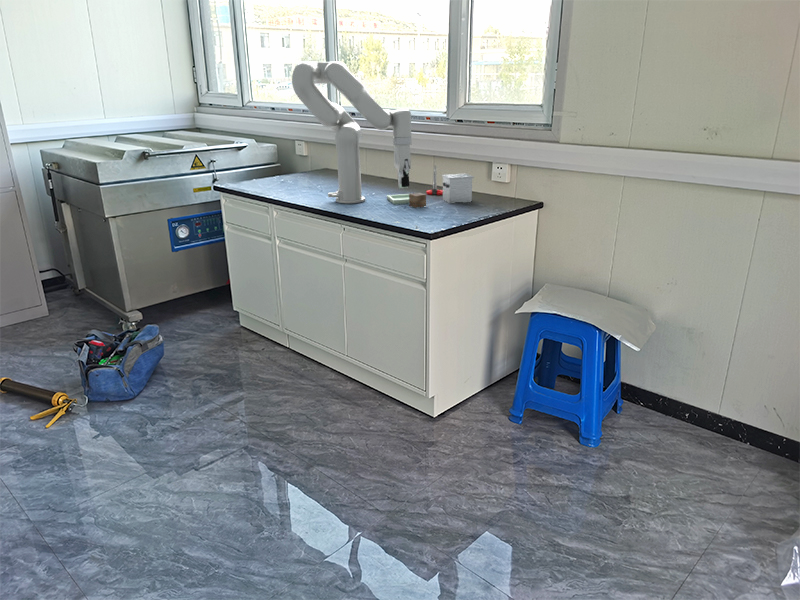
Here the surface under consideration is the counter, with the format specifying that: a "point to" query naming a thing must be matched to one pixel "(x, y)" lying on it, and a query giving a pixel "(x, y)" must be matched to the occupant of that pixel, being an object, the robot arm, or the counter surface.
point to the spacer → (400, 179)
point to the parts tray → (398, 198)
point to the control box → (457, 187)
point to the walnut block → (417, 200)
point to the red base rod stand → (434, 187)
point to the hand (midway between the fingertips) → (403, 185)
